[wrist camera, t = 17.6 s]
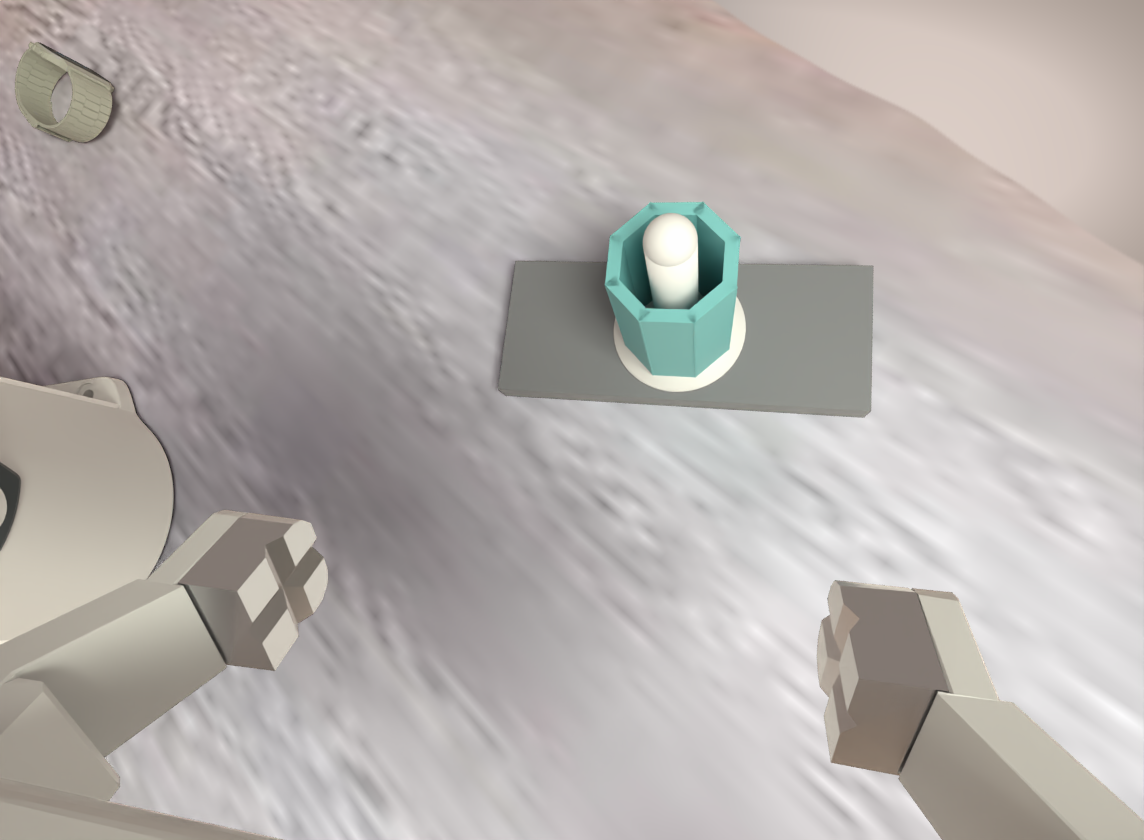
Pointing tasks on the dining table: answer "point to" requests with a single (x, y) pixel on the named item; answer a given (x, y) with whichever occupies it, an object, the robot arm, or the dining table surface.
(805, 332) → the post stand
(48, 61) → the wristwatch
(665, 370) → the collar
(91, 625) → the robot arm
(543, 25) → the dining table surface
